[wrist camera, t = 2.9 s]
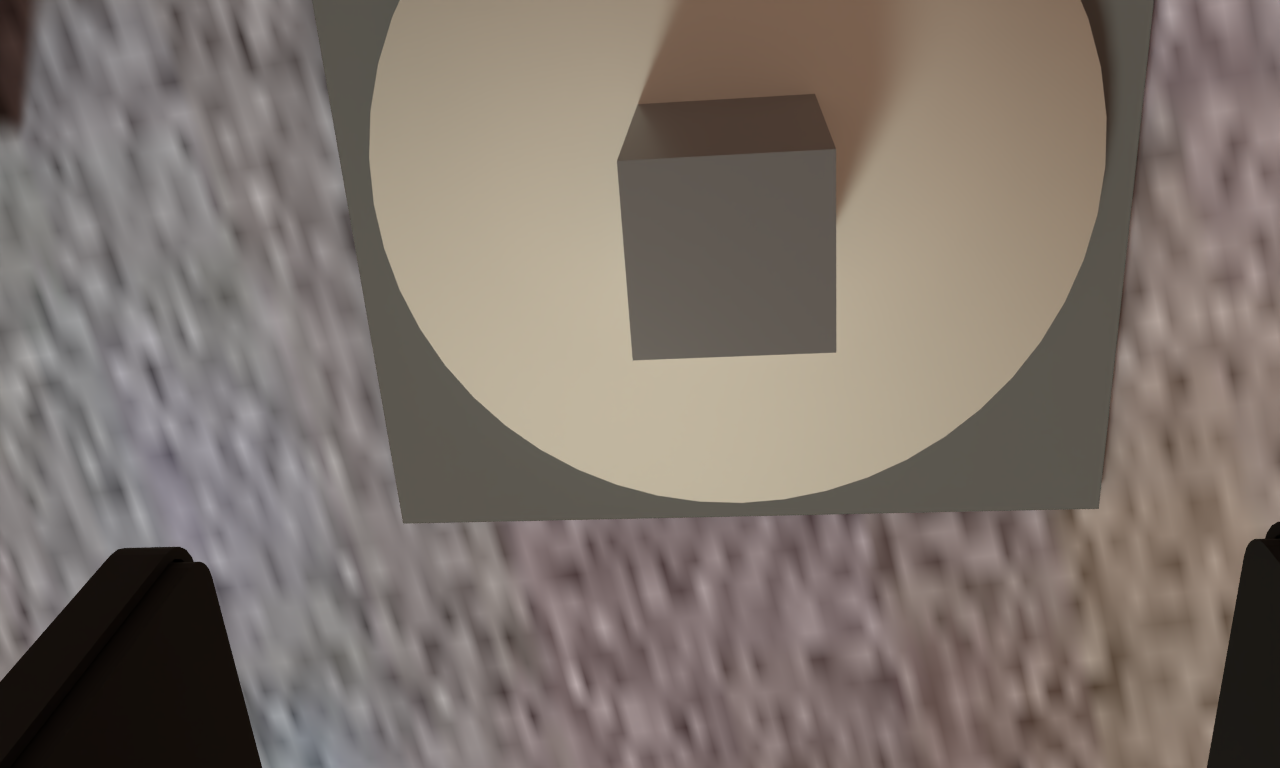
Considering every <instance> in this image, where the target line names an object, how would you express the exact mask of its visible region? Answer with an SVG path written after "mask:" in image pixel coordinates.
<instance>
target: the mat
mask: <svg viewBox="0 0 1280 768" xmlns="http://www.w3.org/2000/svg"><path fill="white" fill-rule="evenodd" d="M399 1H400V0H312V3H313V8H314V14H315V20H316V26H317V31H318V37H319V43H320V48H321V54H322V60H323V66H324V71H325V77H326V83H327V89H328V94H329V100H330V106H331V112H332V117H333V123H334V129H335V135H336V140H337V146H338V152H339V158H340V163H341V169H342V175H343V180H344V186H345V192H346V198H347V203H348V209H349V215H350V221H351V226H352V232H353V238H354V244H355V249H356V255H357V261H358V267H359V272H360V278H361V284H362V289H363V295H364V301H365V307H366V312H367V318H368V324H369V330H370V335H371V341H372V347H373V353H374V358H375V364H376V370H377V376H378V381H379V387H380V393H381V399H382V404H383V410H384V416H385V421H386V427H387V433H388V439H389V444H390V450H391V456H392V462H393V467H394V473H395V479H396V485H397V490H398V496H399V502H400V508H401V513H402V519H403V523H449V522H496V521H543V520H590V519H636V518H683V517H730V516H777V515H824V514H871V513H917V512H964V511H1011V510H1058V509H1099V500H1100V491H1101V482H1102V473H1103V464H1104V454H1105V445H1106V436H1107V427H1108V418H1109V409H1110V399H1111V390H1112V381H1113V372H1114V363H1115V353H1116V344H1117V335H1118V326H1119V317H1120V308H1121V298H1122V289H1123V280H1124V271H1125V262H1126V253H1127V243H1128V234H1129V225H1130V216H1131V207H1132V197H1133V188H1134V179H1135V170H1136V161H1137V152H1138V142H1139V133H1140V124H1141V115H1142V106H1143V96H1144V87H1145V78H1146V69H1147V60H1148V51H1149V41H1150V32H1151V23H1152V14H1153V5H1154V0H1081V2H1082V5H1083V7H1084V9H1085V12H1086V14H1087V17H1088V19H1089V23H1090V27H1091V31H1092V35H1093V39H1094V42H1095V46H1096V50H1097V54H1098V58H1099V62H1100V66H1101V72H1102V81H1103V90H1104V99H1105V107H1106V116H1107V121H1106V160H1105V171H1104V178H1103V184H1102V190H1101V196H1100V202H1099V208H1098V214H1097V218H1096V221H1095V224H1094V228H1093V231H1092V234H1091V238H1090V241H1089V244H1088V247H1087V251H1086V254H1085V257H1084V260H1083V263H1082V265H1081V267H1080V269H1079V272H1078V274H1077V276H1076V278H1075V280H1074V283H1073V285H1072V287H1071V289H1070V292H1069V294H1068V296H1067V298H1066V301H1065V303H1064V304H1063V306H1062V308H1061V309H1060V311H1059V313H1058V314H1057V316H1056V317H1055V319H1054V321H1053V322H1052V324H1051V326H1050V327H1049V329H1048V331H1047V332H1046V334H1045V336H1044V337H1043V339H1042V340H1041V342H1040V343H1039V345H1038V346H1037V347H1036V348H1035V350H1034V351H1033V352H1032V353H1031V355H1030V356H1029V357H1028V358H1027V360H1026V361H1025V362H1024V363H1023V365H1022V366H1021V367H1020V369H1019V370H1018V371H1017V372H1016V374H1015V375H1014V376H1013V377H1012V378H1011V379H1010V380H1009V381H1008V382H1007V383H1006V384H1005V385H1004V386H1003V387H1002V388H1001V389H1000V390H999V391H998V392H997V393H996V394H995V395H994V396H993V397H992V398H991V399H990V400H989V401H988V402H987V403H986V404H985V405H984V406H983V407H982V408H981V409H980V410H979V411H977V412H976V413H975V414H974V415H972V416H971V417H970V418H968V419H967V420H966V421H965V422H963V423H962V424H961V425H959V426H958V427H957V428H956V429H954V430H953V431H952V432H950V433H949V434H948V435H947V436H945V437H944V438H942V439H940V440H939V441H937V442H935V443H934V444H932V445H930V446H929V447H927V448H925V449H924V450H922V451H920V452H919V453H917V454H915V455H914V456H912V457H910V458H909V459H907V460H905V461H903V462H901V463H898V464H896V465H894V466H892V467H890V468H887V469H885V470H883V471H881V472H879V473H876V474H874V475H872V476H870V477H868V478H865V479H862V480H858V481H855V482H852V483H849V484H846V485H843V486H840V487H837V488H834V489H830V490H827V491H823V492H818V493H813V494H808V495H803V496H798V497H793V498H788V499H782V500H770V501H758V502H746V503H730V502H699V501H692V500H685V499H678V498H671V497H664V496H657V495H654V494H650V493H646V492H642V491H638V490H635V489H631V488H627V487H623V486H619V485H616V484H613V483H611V482H608V481H606V480H603V479H601V478H598V477H596V476H593V475H590V474H588V473H585V472H583V471H580V470H578V469H576V468H574V467H572V466H570V465H568V464H566V463H564V462H563V461H561V460H559V459H557V458H555V457H553V456H551V455H549V454H548V453H546V452H544V451H542V450H540V449H539V448H537V447H536V446H534V445H533V444H531V443H530V442H529V441H527V440H526V439H524V438H523V437H521V436H520V435H518V434H517V433H516V432H514V431H513V430H511V429H510V428H508V427H507V426H505V425H504V424H503V423H502V422H501V421H500V420H499V419H498V418H496V417H495V416H494V415H493V414H492V413H491V412H490V411H488V410H487V409H486V408H485V407H484V406H483V405H482V404H481V403H479V402H478V401H477V400H476V399H475V398H474V397H473V396H472V395H471V394H470V393H469V392H468V390H467V389H466V388H465V387H464V386H463V385H462V384H461V383H460V381H459V380H458V379H457V378H456V377H455V376H454V375H453V374H452V372H451V371H450V370H449V369H448V368H447V367H446V366H445V364H444V363H443V362H442V360H441V359H440V357H439V356H438V354H437V353H436V351H435V350H434V349H433V347H432V346H431V344H430V343H429V341H428V340H427V338H426V337H425V336H424V334H423V333H422V331H421V330H420V328H419V326H418V324H417V322H416V320H415V318H414V317H413V315H412V313H411V311H410V309H409V307H408V305H407V303H406V301H405V299H404V297H403V295H402V294H401V292H400V290H399V287H398V284H397V281H396V279H395V276H394V273H393V271H392V268H391V265H390V263H389V260H388V257H387V255H386V252H385V249H384V246H383V241H382V237H381V233H380V228H379V224H378V220H377V216H376V211H375V207H374V201H373V191H372V182H371V172H370V162H369V145H370V111H371V105H372V98H373V92H374V86H375V80H376V74H377V67H378V62H379V59H380V56H381V52H382V49H383V46H384V43H385V39H386V36H387V33H388V29H389V26H390V23H391V19H392V16H393V14H394V12H395V10H396V8H397V5H398V3H399Z"/></svg>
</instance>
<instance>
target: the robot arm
mask: <svg viewBox="0 0 1280 768" xmlns="http://www.w3.org/2000/svg"><path fill="white" fill-rule="evenodd" d="M0 768H262V766H261V762H260V758H259V754H258V750H257V747H256V743H255V739H254V735H253V731H252V728H251V724H250V720H249V716H248V712H247V708H246V705H245V701H244V697H243V693H242V689H241V686H240V682H239V678H238V674H237V670H236V667H235V663H234V659H233V655H232V651H231V648H230V644H229V640H228V636H227V632H226V629H225V625H224V621H223V617H222V613H221V610H220V606H219V602H218V598H217V594H216V590H215V587H214V583H213V579H212V576H211V573H210V571H209V569H208V567H207V566H206V565H205V564H204V563H202V562H193V559H192V557H191V555H190V554H189V553H188V552H187V550H185V549H183V548H181V547H151V548H123V549H118V550H117V551H115V552H114V553H113V554H112V555H110V557H109V558H108V559H107V560H106V561H105V562H104V563H103V565H102V566H101V567H100V568H99V569H98V570H97V571H96V573H95V574H94V575H93V576H92V577H91V578H90V579H89V581H88V582H87V583H86V584H85V585H84V586H83V588H82V589H81V590H80V591H79V592H78V593H77V594H76V596H75V597H74V598H73V599H72V600H71V601H70V602H69V604H68V605H67V606H66V607H65V608H64V609H63V610H62V612H61V613H60V614H59V615H58V616H57V617H56V619H55V620H54V621H53V622H52V623H51V624H50V625H49V627H48V628H47V629H46V630H45V631H44V632H43V633H42V635H41V636H40V637H39V638H38V639H37V640H36V641H35V643H34V644H33V645H32V646H31V647H30V648H29V650H28V651H27V652H26V653H25V654H24V655H23V656H22V658H21V659H20V660H19V661H18V662H17V663H16V664H15V666H14V667H13V668H12V669H11V670H10V671H9V672H8V674H7V675H6V676H5V677H4V678H3V679H2V681H1V682H0ZM1207 768H1280V522H1277V523H1275V524H1274V525H1272V526H1271V528H1270V529H1269V531H1268V532H1267V534H1266V538H1265V539H1254V540H1252V541H1251V542H1250V543H1249V544H1248V546H1247V548H1246V551H1245V555H1244V560H1243V566H1242V571H1241V577H1240V583H1239V588H1238V594H1237V600H1236V605H1235V611H1234V617H1233V622H1232V628H1231V634H1230V640H1229V645H1228V651H1227V657H1226V662H1225V668H1224V674H1223V679H1222V685H1221V691H1220V696H1219V702H1218V708H1217V713H1216V719H1215V725H1214V731H1213V736H1212V742H1211V748H1210V753H1209V759H1208V765H1207Z"/></svg>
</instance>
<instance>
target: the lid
mask: <svg viewBox="0 0 1280 768" xmlns="http://www.w3.org/2000/svg"><path fill="white" fill-rule="evenodd" d="M1106 121H1107V116H1106V107H1105V99H1104V90H1103V81H1102V72H1101V66H1100V62H1099V58H1098V54H1097V50H1096V46H1095V42H1094V39H1093V35H1092V31H1091V27H1090V23H1089V19H1088V17H1087V14H1086V12H1085V9H1084V7H1083V5H1082V2H1081V0H400V1H399V3H398V5H397V8H396V10H395V12H394V14H393V16H392V19H391V23H390V26H389V29H388V33H387V36H386V39H385V43H384V46H383V49H382V52H381V56H380V59H379V62H378V67H377V74H376V80H375V86H374V92H373V98H372V105H371V111H370V145H369V162H370V172H371V182H372V191H373V201H374V207H375V211H376V216H377V220H378V224H379V228H380V233H381V237H382V241H383V246H384V249H385V252H386V255H387V257H388V260H389V263H390V265H391V268H392V271H393V273H394V276H395V279H396V281H397V284H398V287H399V290H400V292H401V294H402V295H403V297H404V299H405V301H406V303H407V305H408V307H409V309H410V311H411V313H412V315H413V317H414V318H415V320H416V322H417V324H418V326H419V328H420V330H421V331H422V333H423V334H424V336H425V337H426V338H427V340H428V341H429V343H430V344H431V346H432V347H433V349H434V350H435V351H436V353H437V354H438V356H439V357H440V359H441V360H442V362H443V363H444V364H445V366H446V367H447V368H448V369H449V370H450V371H451V372H452V374H453V375H454V376H455V377H456V378H457V379H458V380H459V381H460V383H461V384H462V385H463V386H464V387H465V388H466V389H467V390H468V392H469V393H470V394H471V395H472V396H473V397H474V398H475V399H476V400H477V401H478V402H479V403H481V404H482V405H483V406H484V407H485V408H486V409H487V410H488V411H490V412H491V413H492V414H493V415H494V416H495V417H496V418H498V419H499V420H500V421H501V422H502V423H503V424H504V425H505V426H507V427H508V428H510V429H511V430H513V431H514V432H516V433H517V434H518V435H520V436H521V437H523V438H524V439H526V440H527V441H529V442H530V443H531V444H533V445H534V446H536V447H537V448H539V449H540V450H542V451H544V452H546V453H548V454H549V455H551V456H553V457H555V458H557V459H559V460H561V461H563V462H564V463H566V464H568V465H570V466H572V467H574V468H576V469H578V470H580V471H583V472H585V473H588V474H590V475H593V476H596V477H598V478H601V479H603V480H606V481H608V482H611V483H613V484H616V485H619V486H623V487H627V488H631V489H635V490H638V491H642V492H646V493H650V494H654V495H657V496H664V497H671V498H678V499H685V500H692V501H699V502H730V503H746V502H758V501H770V500H782V499H788V498H793V497H798V496H803V495H808V494H813V493H818V492H823V491H827V490H830V489H834V488H837V487H840V486H843V485H846V484H849V483H852V482H855V481H858V480H862V479H865V478H868V477H870V476H872V475H874V474H876V473H879V472H881V471H883V470H885V469H887V468H890V467H892V466H894V465H896V464H898V463H901V462H903V461H905V460H907V459H909V458H910V457H912V456H914V455H915V454H917V453H919V452H920V451H922V450H924V449H925V448H927V447H929V446H930V445H932V444H934V443H935V442H937V441H939V440H940V439H942V438H944V437H945V436H947V435H948V434H949V433H950V432H952V431H953V430H954V429H956V428H957V427H958V426H959V425H961V424H962V423H963V422H965V421H966V420H967V419H968V418H970V417H971V416H972V415H974V414H975V413H976V412H977V411H979V410H980V409H981V408H982V407H983V406H984V405H985V404H986V403H987V402H988V401H989V400H990V399H991V398H992V397H993V396H994V395H995V394H996V393H997V392H998V391H999V390H1000V389H1001V388H1002V387H1003V386H1004V385H1005V384H1006V383H1007V382H1008V381H1009V380H1010V379H1011V378H1012V377H1013V376H1014V375H1015V374H1016V372H1017V371H1018V370H1019V369H1020V367H1021V366H1022V365H1023V363H1024V362H1025V361H1026V360H1027V358H1028V357H1029V356H1030V355H1031V353H1032V352H1033V351H1034V350H1035V348H1036V347H1037V346H1038V345H1039V343H1040V342H1041V340H1042V339H1043V337H1044V336H1045V334H1046V332H1047V331H1048V329H1049V327H1050V326H1051V324H1052V322H1053V321H1054V319H1055V317H1056V316H1057V314H1058V313H1059V311H1060V309H1061V308H1062V306H1063V304H1064V303H1065V301H1066V298H1067V296H1068V294H1069V292H1070V289H1071V287H1072V285H1073V283H1074V280H1075V278H1076V276H1077V274H1078V272H1079V269H1080V267H1081V265H1082V263H1083V260H1084V257H1085V254H1086V251H1087V247H1088V244H1089V241H1090V238H1091V234H1092V231H1093V228H1094V224H1095V221H1096V218H1097V214H1098V208H1099V202H1100V196H1101V190H1102V184H1103V178H1104V171H1105V160H1106Z"/></svg>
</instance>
